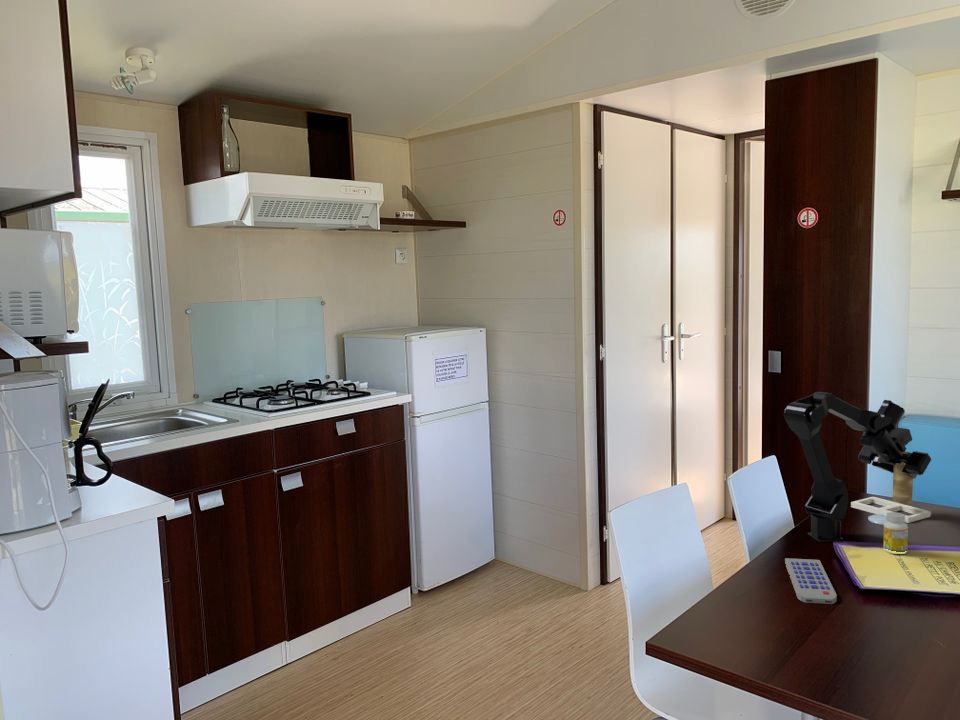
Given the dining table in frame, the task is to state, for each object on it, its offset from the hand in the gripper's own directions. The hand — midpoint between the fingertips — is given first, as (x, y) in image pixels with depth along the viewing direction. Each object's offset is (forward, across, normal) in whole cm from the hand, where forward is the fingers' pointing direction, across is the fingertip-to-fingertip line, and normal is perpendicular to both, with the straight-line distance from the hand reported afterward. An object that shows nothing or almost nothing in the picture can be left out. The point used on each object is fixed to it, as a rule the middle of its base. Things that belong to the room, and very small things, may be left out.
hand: (906, 475), depth 213 cm
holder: (+8, +4, +9) cm, 13 cm away
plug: (+4, 0, +6) cm, 7 cm away
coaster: (+2, 0, +14) cm, 15 cm away
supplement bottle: (-11, -16, +28) cm, 34 cm away
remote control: (-34, -17, +52) cm, 64 cm away
